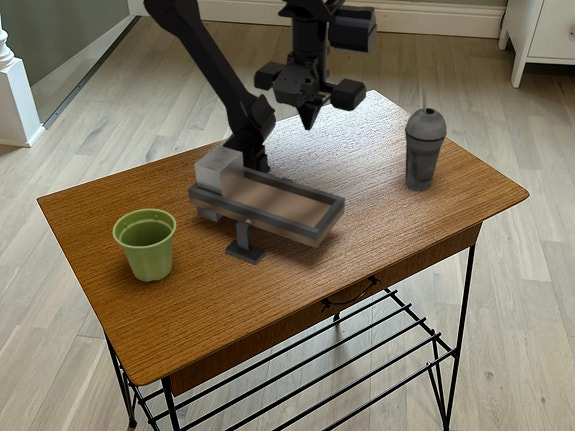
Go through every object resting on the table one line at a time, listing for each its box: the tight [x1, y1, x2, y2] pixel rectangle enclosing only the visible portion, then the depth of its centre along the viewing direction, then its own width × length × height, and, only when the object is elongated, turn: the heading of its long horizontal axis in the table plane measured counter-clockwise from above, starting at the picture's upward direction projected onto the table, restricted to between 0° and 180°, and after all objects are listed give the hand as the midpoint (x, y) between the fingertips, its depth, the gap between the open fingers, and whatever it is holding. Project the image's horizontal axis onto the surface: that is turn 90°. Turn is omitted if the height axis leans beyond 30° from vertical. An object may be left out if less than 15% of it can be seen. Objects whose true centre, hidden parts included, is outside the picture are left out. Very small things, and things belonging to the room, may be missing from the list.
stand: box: [224, 176, 294, 266], centre depth 102 cm, size 6×17×6 cm, turn 151°
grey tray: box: [187, 167, 346, 249], centre depth 101 cm, size 24×12×6 cm, turn 61°
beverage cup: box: [404, 85, 447, 192], centre depth 108 cm, size 7×7×20 cm
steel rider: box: [194, 144, 245, 198], centre depth 101 cm, size 5×7×6 cm
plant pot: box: [112, 208, 177, 283], centre depth 94 cm, size 9×9×9 cm
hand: (308, 129), depth 107 cm, fingers closed
